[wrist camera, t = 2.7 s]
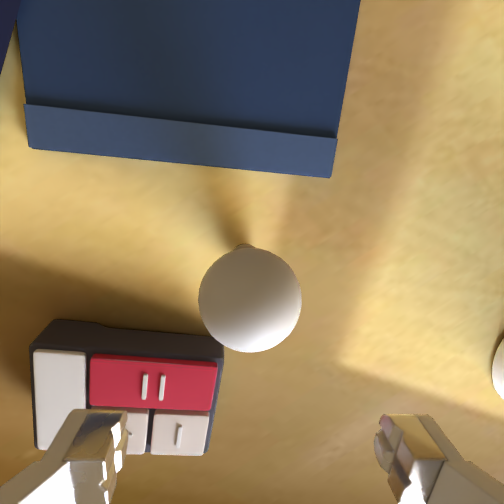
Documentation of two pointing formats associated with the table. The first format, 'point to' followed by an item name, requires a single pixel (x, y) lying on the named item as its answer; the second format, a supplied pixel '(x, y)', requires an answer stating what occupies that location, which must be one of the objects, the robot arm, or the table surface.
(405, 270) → the table surface
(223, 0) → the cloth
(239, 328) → the lightbulb
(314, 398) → the table surface
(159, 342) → the button panel
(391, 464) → the robot arm
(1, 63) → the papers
